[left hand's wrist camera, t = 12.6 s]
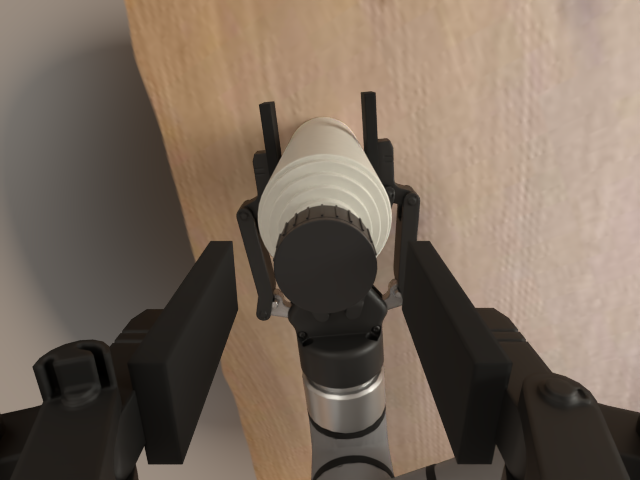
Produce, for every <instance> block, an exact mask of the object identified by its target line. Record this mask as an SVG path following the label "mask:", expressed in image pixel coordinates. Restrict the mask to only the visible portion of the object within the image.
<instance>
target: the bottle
mask: <svg viewBox="0 0 640 480" xmlns="http://www.w3.org/2000/svg"><path fill="white" fill-rule="evenodd" d="M321 204H323V205H330V206H335V205H337V207H340V208H343V209H345V210H350V211H351V213H353V214H354V215H355V216H357V217H358V218H361V219H362V222H363V224H364V225H365V227H366V228H368V229H369V231H370V235H371V238H372V240H373V243H374V246H375V249H376V253H377V255H376V257H377V256H378V255H379V253H380V252H381V251H382V249H383V247H384V246H385V244H386V241H387V239H388V236H389V233H390V229H391V222H392V212H391V205H390V201H389V198H388V195H387V193H386V190H385V188H384V186H383V185H382V183H381V181H380V179H379V178H378V176H377V174H376V172H375V170H374V169H373V167H372V165H371V163H370V162H369V160H368V158H367V156H366V154H365V153H364V151H363V149H362V147H361V146H360V144H359V142H358V140H357V138H356V137H355V135H354V133H353V132H352V131H351V129H350V128H349V127H348V126H347V125H346V124H344V123H343V122H341V121H339V120H337V119H334V118H329V117H318V118H314V119H311V120H309V121H307V122H305V123H304V124H302V125H301V126H300V127H299V128H298V129H297V130H296V131H295V133H294V134H293V136H292V138H291V140H290V142H289V143H288V145H287V147H286V149H285V151H284V153H283V155H282V157H281V159H280V161H279V163H278V165H277V166H276V168H275V170H274V172H273V174H272V176H271V178H270V180H269V182H268V184H267V186H266V188H265V190H264V192H263V194H262V196H261V200H260V203H259V209H258V226H259V231H260V235H261V238H262V240H263V243H264V245H265V247H266V248H267V250H268V252H269V253H270V254H271V256H272V257H273V258H274V255H275V251H276V244H277V241H278V237H279V234H281V233H282V231H283V229H284V226H285V223H286V222H287V223H288V222H289V221H290V219H291V218H293V217H294V215H295V213H297V214H298V213H299V212H301V211H303V210H305V209H307V207H309V208H310V207H314V206H320V205H321Z"/></svg>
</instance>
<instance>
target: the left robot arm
mask: <svg viewBox="0 0 640 480" xmlns="http://www.w3.org/2000/svg"><path fill="white" fill-rule="evenodd" d="M237 311H238V302H237V290H236V279H235V267H234V255H233V243H232V241H210V243H209V244H208V246H207V247H206V248H205V250H204V251H203V253H202V254H201V256H200V257H199V259H198V260H197V262H196V263H195V265H194V266H193V267H192V269H191V270H190V272H189V273H188V275H187V276H186V278H185V279H184V281H183V282H182V284H181V285H180V286H179V288H178V289H177V291H176V292H175V294H174V295H173V297H172V298H171V300H170V301H169V303H168V304H167V305H166V307H165V308H164V309H147V310H145V311H143V312H142V313H140V314H139V315H137V316H136V317H134V318H133V319H131V321H130V322H129V323H128V324H127V326H126V327H125V328H124V329H123V331H122V333H120V335H119V336H118V337H117V338H116V340H115V343H112V345H111V346H110V347H109V346H108V345H107V344H105V343H104V342H102V341H97V340H80V341H76V342H72V343H68V344H64V345H62V346H60V347H57V348H55V349H53V350H51V351H49V352H48V353H46V354H45V355H43V356H42V357H41V358H39V360H38V361H37V362H36V363H35V364H34V366H33V370H34V373H35V376H36V380H37V383H38V386H39V389H40V392H41V395H42V399H43V404H42V405H40V406H36V407H33V408H28V409H23V410H18V411H14V412H9V413H5V414H0V480H138V473H137V468H136V462H137V460H138V458H139V456H140V454H141V452H142V450H143V447H144V446H145V451H146V456H147V461H148V464H183V462H184V459H185V456H186V453H187V450H188V448H189V445H190V442H191V439H192V437H193V434H194V431H195V428H196V425H197V422H198V420H199V417H200V414H201V411H202V409H203V406H204V403H205V400H206V397H207V395H208V392H209V389H210V386H211V384H212V381H213V378H214V375H215V372H216V370H217V367H218V364H219V361H220V358H221V356H222V353H223V350H224V347H225V345H226V342H227V339H228V336H229V333H230V331H231V328H232V325H233V322H234V319H235V317H236V314H237ZM402 311H403V314H404V317H405V319H406V322H407V325H408V328H409V331H410V333H411V336H412V339H413V342H414V345H415V347H416V350H417V353H418V356H419V358H420V361H421V364H422V367H423V370H424V372H425V375H426V378H427V381H428V384H429V386H430V389H431V392H432V395H433V398H434V400H435V403H436V406H437V409H438V411H439V414H440V417H441V420H442V423H443V425H444V428H445V431H446V434H447V437H448V439H449V442H450V445H451V448H452V450H453V453H454V456H455V459H456V462H457V464H492V461H493V456H494V451H495V446H496V445H497V448H498V450H499V452H500V454H501V456H502V458H503V460H504V462H505V464H504V468H503V472H502V477H501V480H640V413H639V412H634V411H630V410H625V409H621V408H616V407H611V406H607V405H603V404H600V403H597V401H596V399H595V398H594V396H593V395H592V394H591V392H590V391H589V390H587V389H586V388H585V387H584V386H582V385H581V384H580V383H578V382H576V381H574V380H572V379H570V378H568V377H566V376H562V375H559V374H555V373H552V372H551V370H550V369H549V368H548V367H547V365H546V364H545V363H544V362H543V360H542V359H541V358H540V357H539V355H538V354H537V353H536V352H535V350H534V349H533V348H532V347H531V345H530V344H529V343H528V342H526V339H525V338H524V337H523V335H522V334H521V333H520V332H518V329H517V328H516V327H515V325H514V324H513V323H512V321H511V320H510V319H509V318H508V317H506V316H505V315H503V314H502V313H500V312H499V311H497V310H496V309H494V308H475V307H474V305H473V304H472V303H471V301H470V300H469V298H468V297H467V295H466V294H465V292H464V291H463V289H462V288H461V286H460V285H459V284H458V282H457V281H456V279H455V278H454V276H453V275H452V273H451V272H450V270H449V269H448V267H447V266H446V265H445V263H444V262H443V260H442V259H441V257H440V256H439V254H438V253H437V251H436V250H435V248H434V247H433V246H432V244H431V243H430V241H408V243H407V255H406V267H405V279H404V290H403V302H402Z"/></svg>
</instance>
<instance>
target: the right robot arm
mask: <svg viewBox="0 0 640 480" xmlns="http://www.w3.org/2000/svg"><path fill="white" fill-rule="evenodd" d="M361 104H362V122H363V140H364V153H365V154H366V156H367V158H368V160H369V162H370V163H371V165H372V167H373V169H374V170H375V172H376V174H377V176H378V178H379V179H380V181H381V183H382V185H383V186H384V188H385V190H386V193H387V195H388V198H389V201H390V205H391V208H392V205H393V203H396V204H398V205H397V220H396V236H395V251H394V276H395V279H392V280H391V282H390V283H389V285H388V291H387V293H386V294H384V295H382V294H381V293H380V292H379V291H378V289H377V288H376V287H375V286H374V285H373V286H372V287H371V289H370V291H369V292H368V293H367V295H366V296H365V297H364V298H363V299H362V300H361V301H360V302H358V303H357V304H355V305H354V306H352V307H350V308H348V309H346V310H343V311H339V312H334V313H316V312H311V311H308V310H305V309H303V308H300V307H299V306H297V305H295V304H294V303H292V302H287V301H286V300H285V299H284V296H283V293H282V291H280V289H276V280H275V275H274V271H273V267H272V263H271V259H270V255H269V252H268V250H267V248H266V247H265V245H264V243H263V240H262V238H261V235H260V231H259V226H258V209H259V203H260V200H261V196H262V194H263V192H264V190H265V188H266V186H267V184H268V182H269V180H270V178H271V176H272V174H273V172H274V170H275V168H276V166H277V165H278V163H279V161H280V159H281V157H282V156H281V148H280V141H279V133H278V125H277V118H276V110H275V103H274V101H273V102H264V103H262V104H259V108H260V115H261V122H262V129H263V136H264V143H265V149H266V150H262V151H257V152H256V153H255V154H254V158H253V166H254V173H255V179H256V185H257V191H258V196H256V197H255V198H253V199H251V200H246V201H245V202H244V203H243V204H242V206H241V207H240V209H239V210H238V212H237V221H238V224H239V228H240V231H241V235H242V239H243V242H244V246H245V249H246V253H247V257H248V260H249V264H250V267H251V271H252V275H253V278H254V282H255V285H256V289H257V293H258V304H257V312H256V315H257V317H258V319H260V320H263V321H264V320H268V319H269V318H270V316H271V315H273V316H280V317H287V318H288V319H289V321H290V323H291V324H292V325H293V326H294V328H295V330H296V334H297V341H298V348H299V355H300V362H301V368H302V371H303V374H302V377H303V384H304V390H305V396H306V403H307V410H308V415H309V422H310V432H311V441H312V477H311V480H501V477H502V472H503V468H504V464H505V462H504V460H503V458H502V456H501V454H500V452H499V450H498V448H497V445H496V446H495V451H494V456H493V461H492V464H457V462H456V459H455V457H454V458H452V459H449V460H446V461H443V462H441V463H438V464H433V465H430V466H427V467H424V468H421V469H418V470H415V471H412V472H409V473H406V474H403V475H400V476H397V477H394V473H393V468H392V462H391V457H390V451H389V445H388V435H387V423H386V412H385V410H386V393H385V376H384V366H383V362H384V355H383V334H382V322H383V319H384V318H385V316H386V314H387V310H389V309H392V308H395V307H398V306H401V305H402V302H403V290H404V279H405V267H406V255H407V243H408V241H417V231H418V220H419V208H420V198H419V196H418V195H417V193H416V192H415V191H414V190H413V188H412V187H410V186H408V185H405V186H404V185H400V184H397V183H395V182H394V162H393V161H394V160H393V146H392V144H391V142H390V140H389V139H387V138H385V139H378V137H377V115H376V93H375V92H372V91H370V92H361Z"/></svg>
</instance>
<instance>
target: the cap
mask: <svg viewBox="0 0 640 480" xmlns="http://www.w3.org/2000/svg"><path fill="white" fill-rule="evenodd" d="M376 255H377V253H376V249H375V246H374V243H373V240H372V238H371V235H370V231H369V229H368V228H366V227H365V225H364V224H363V222H362V219H361V218H358V217H357V216H355V215H354V214H353V213H351V211H350V210H345V209H343V208H340V207H337V205H335V206H330V205H323V204H321V205H320V206H314V207H310V208H309V207H307V209H305V210H303V211H301V212H299V213H298V214H297V213H295V215H294V217H293V218H291V219H290V221H289V222H288V223H287V222H286V223H285V226H284V229H283V231H282V233H281V234H279V237H278V241H277V244H276V251H275V255H274V258H273V261H274V275H275V279H276V282H277V284H278V286H279V288H280V290H281V291H282V293H283V294H284V295H285V296H286V297H287V298H288V299H289V300H290V301H291V302H292V303H294V304H295V305H297V306H299V307H300V308H303V309H305V310H308V311H311V312H316V313H334V312H339V311H343V310H346V309H348V308H350V307H352V306H354V305H355V304H357V303H358V302H360V301H361V300H362V299H363V298H364V297H365V296H366V295H367V293H368V292H369V291H370V289H371V287H372V286H373V283H374V281H375V278H376V274H377V259H376Z"/></svg>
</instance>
